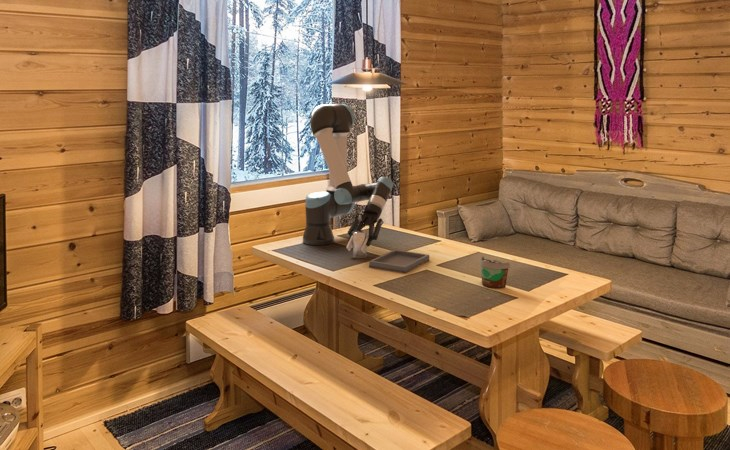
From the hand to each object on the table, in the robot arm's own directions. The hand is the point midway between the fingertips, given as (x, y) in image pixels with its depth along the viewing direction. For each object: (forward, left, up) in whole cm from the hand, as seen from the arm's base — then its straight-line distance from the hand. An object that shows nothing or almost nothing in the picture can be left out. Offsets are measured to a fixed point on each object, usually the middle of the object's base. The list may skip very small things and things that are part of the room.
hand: (355, 250), depth 274 cm
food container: (+64, -6, -4) cm, 64 cm away
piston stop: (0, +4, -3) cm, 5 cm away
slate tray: (+20, +3, -3) cm, 21 cm away
